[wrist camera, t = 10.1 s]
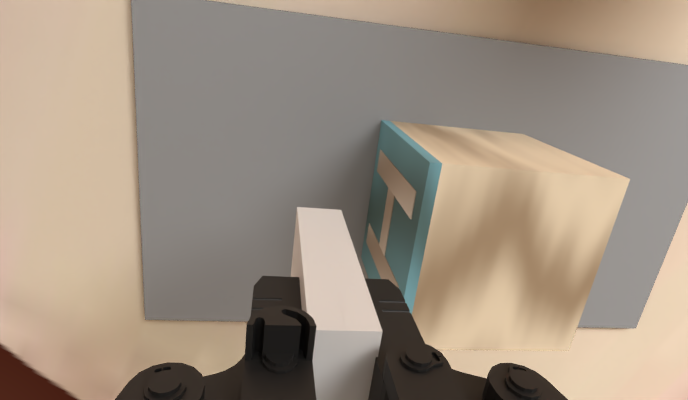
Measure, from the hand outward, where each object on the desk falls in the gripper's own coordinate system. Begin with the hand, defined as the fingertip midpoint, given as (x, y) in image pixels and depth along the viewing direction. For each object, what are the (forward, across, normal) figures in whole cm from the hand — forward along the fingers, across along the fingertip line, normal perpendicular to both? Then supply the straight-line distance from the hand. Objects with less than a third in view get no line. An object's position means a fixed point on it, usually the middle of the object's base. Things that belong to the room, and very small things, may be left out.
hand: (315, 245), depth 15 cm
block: (+2, +3, 0) cm, 4 cm away
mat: (+6, +7, 0) cm, 9 cm away
